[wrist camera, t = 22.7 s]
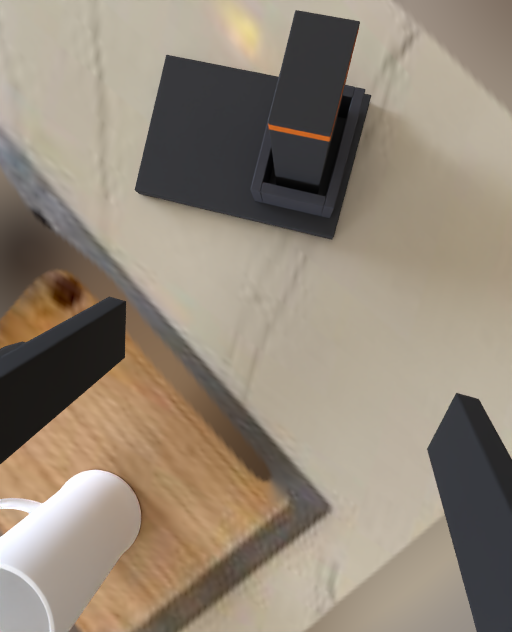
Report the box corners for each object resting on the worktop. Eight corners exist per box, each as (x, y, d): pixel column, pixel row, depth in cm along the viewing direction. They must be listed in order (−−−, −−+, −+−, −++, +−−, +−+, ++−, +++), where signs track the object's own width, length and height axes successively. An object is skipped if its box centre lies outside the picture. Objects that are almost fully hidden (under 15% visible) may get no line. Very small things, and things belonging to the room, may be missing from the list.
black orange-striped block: (335, 126, 30) (360, 20, 19) (317, 197, 30) (331, 134, 19) (294, 117, 30) (295, 9, 19) (276, 188, 30) (267, 121, 19)
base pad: (368, 102, 30) (380, 70, 26) (332, 239, 31) (338, 229, 27) (170, 62, 32) (152, 27, 28) (139, 193, 33) (117, 178, 29)
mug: (14, 500, 35) (-131, 602, 23) (60, 430, 34) (-66, 498, 22) (110, 575, 34) (11, 721, 22) (159, 505, 33) (84, 617, 21)
